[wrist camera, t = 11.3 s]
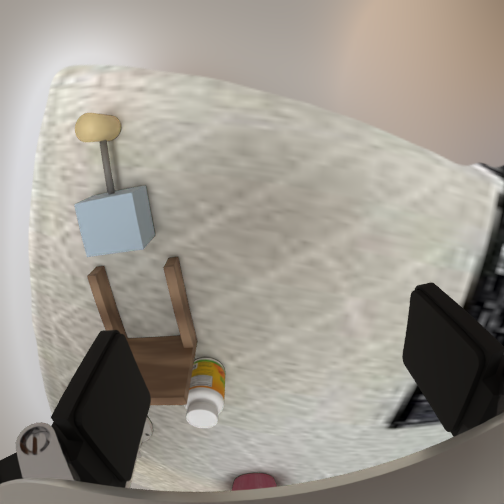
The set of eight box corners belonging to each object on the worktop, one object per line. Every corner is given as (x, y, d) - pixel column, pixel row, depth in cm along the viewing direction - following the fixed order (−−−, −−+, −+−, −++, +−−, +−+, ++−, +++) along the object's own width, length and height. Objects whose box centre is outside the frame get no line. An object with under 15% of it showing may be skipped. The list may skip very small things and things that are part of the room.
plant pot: (274, 461, 53) (280, 512, 41) (293, 484, 58) (300, 528, 46) (211, 473, 55) (209, 522, 43) (237, 496, 59) (238, 538, 47)
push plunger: (155, 234, 36) (141, 251, 30) (103, 242, 36) (84, 259, 30) (135, 108, 31) (116, 104, 25) (82, 123, 31) (58, 122, 25)
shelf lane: (197, 341, 42) (186, 404, 30) (122, 345, 42) (96, 402, 30) (178, 256, 37) (154, 306, 26) (96, 266, 37) (52, 313, 26)
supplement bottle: (226, 383, 45) (224, 432, 35) (191, 382, 44) (183, 430, 35) (224, 356, 43) (222, 406, 34) (187, 355, 42) (177, 404, 33)
